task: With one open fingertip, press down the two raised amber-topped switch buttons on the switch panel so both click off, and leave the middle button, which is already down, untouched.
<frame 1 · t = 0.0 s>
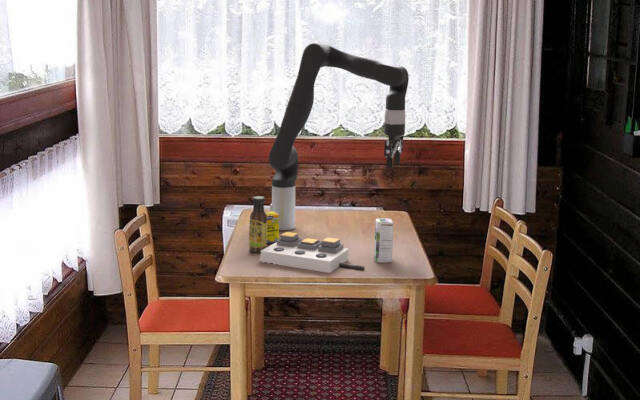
hand: (393, 165, 292), 29 cm above the table, tool pointing down, fingers open, 8 cm apart
sauce bottle: (258, 251, 286), on the table
switch c: (330, 242, 274), point 7 cm above the table, slide at 0.0 cm
syrup box: (382, 260, 277), on the table
switch b: (309, 243, 278), point 5 cm above the table, slide at 1.3 cm
supplement box: (268, 242, 298), on the table
switch panel: (304, 260, 275), on the table
switch a: (289, 236, 281), point 7 cm above the table, slide at 0.0 cm
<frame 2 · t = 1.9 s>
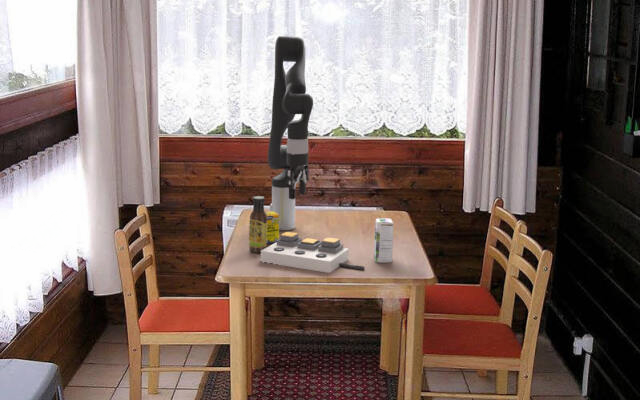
hand: (297, 196, 281), 20 cm above the table, tool pointing down, fingers open, 8 cm apart
nothing on the table moved.
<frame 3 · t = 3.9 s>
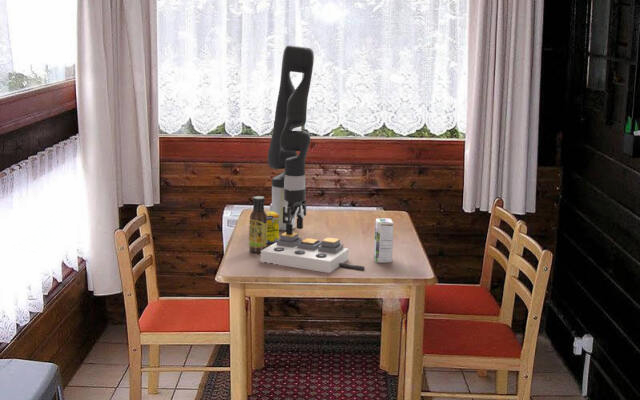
hand: (294, 231, 284), 8 cm above the table, tool pointing down, fingers open, 8 cm apart
switch a: (289, 236, 281), point 7 cm above the table, slide at 0.0 cm, touching gripper
everything else where it was.
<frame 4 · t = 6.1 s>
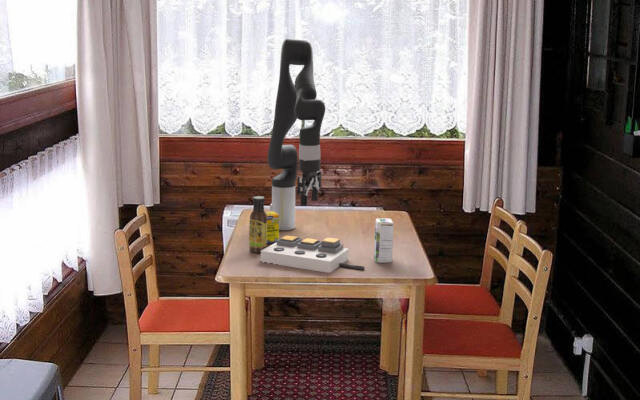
hand: (309, 203, 278), 19 cm above the table, tool pointing down, fingers open, 8 cm apart
switch a: (289, 240, 281), point 5 cm above the table, slide at 1.3 cm
everything else where it was.
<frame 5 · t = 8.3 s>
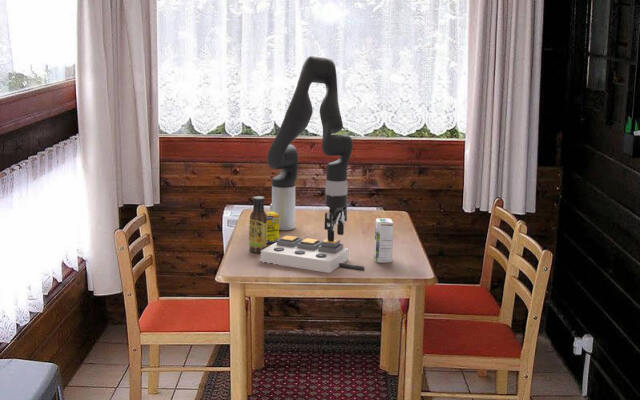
hand: (335, 237, 277), 7 cm above the table, tool pointing down, fingers open, 8 cm apart
switch c: (330, 243, 274), point 6 cm above the table, slide at 0.2 cm, touching gripper
everything else where it was.
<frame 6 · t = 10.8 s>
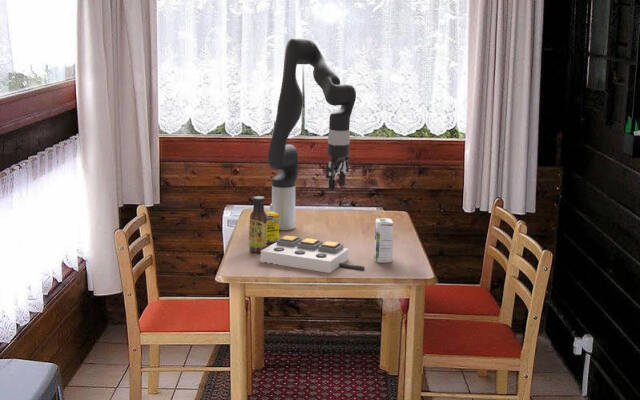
hand: (336, 187, 280), 24 cm above the table, tool pointing down, fingers open, 8 cm apart
switch c: (330, 246, 275), point 5 cm above the table, slide at 1.3 cm
everything else where it was.
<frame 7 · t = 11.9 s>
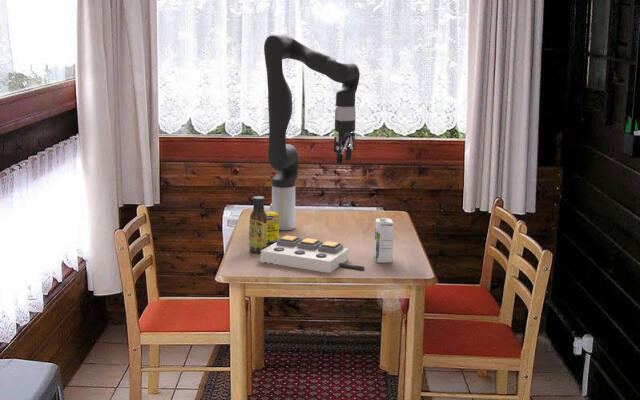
hand: (344, 162, 293), 30 cm above the table, tool pointing down, fingers open, 8 cm apart
nothing on the table moved.
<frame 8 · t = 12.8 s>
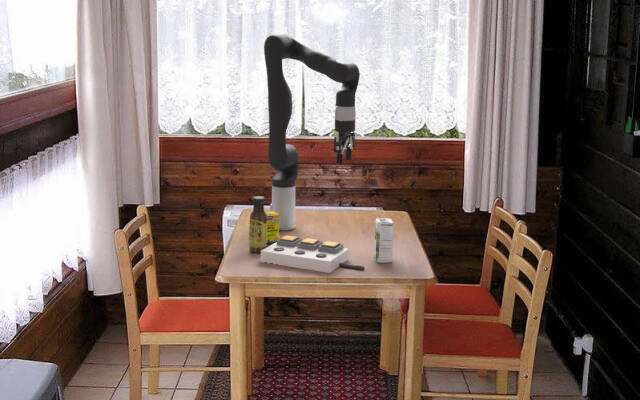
hand: (344, 162, 293), 30 cm above the table, tool pointing down, fingers open, 8 cm apart
nothing on the table moved.
at the end: switch a slide at 1.3 cm; switch c slide at 1.3 cm; switch b slide at 1.3 cm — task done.
